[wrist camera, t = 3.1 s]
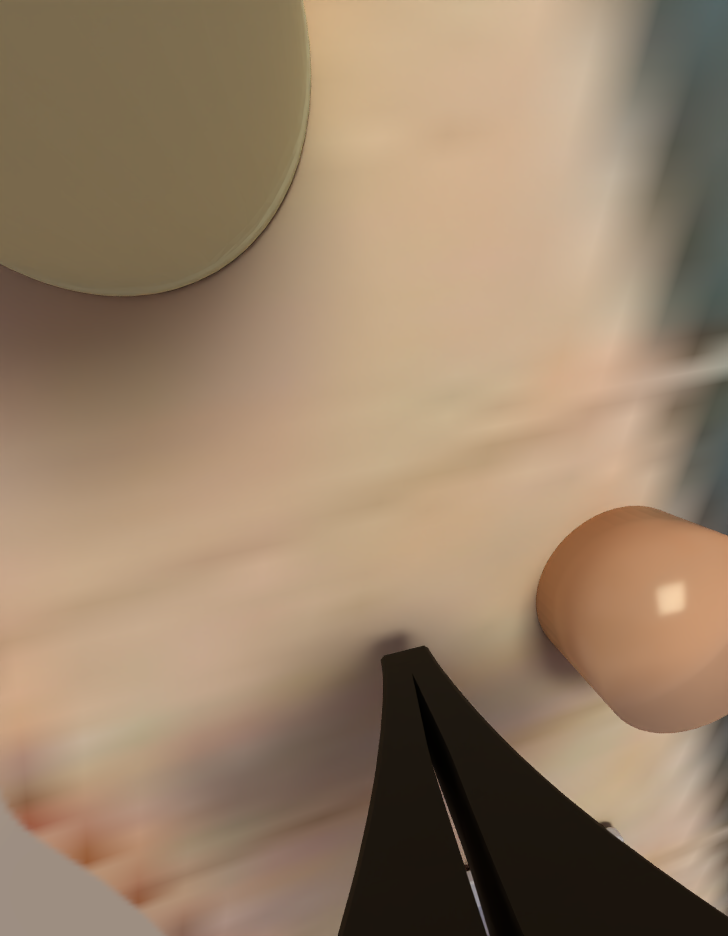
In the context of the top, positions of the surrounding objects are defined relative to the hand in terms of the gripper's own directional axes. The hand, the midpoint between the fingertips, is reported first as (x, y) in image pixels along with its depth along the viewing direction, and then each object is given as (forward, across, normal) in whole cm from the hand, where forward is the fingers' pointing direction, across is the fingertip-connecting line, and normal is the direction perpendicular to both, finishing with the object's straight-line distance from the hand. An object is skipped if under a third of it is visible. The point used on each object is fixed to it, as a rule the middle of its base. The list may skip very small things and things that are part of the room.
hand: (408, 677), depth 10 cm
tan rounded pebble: (+2, -8, 0) cm, 8 cm away
